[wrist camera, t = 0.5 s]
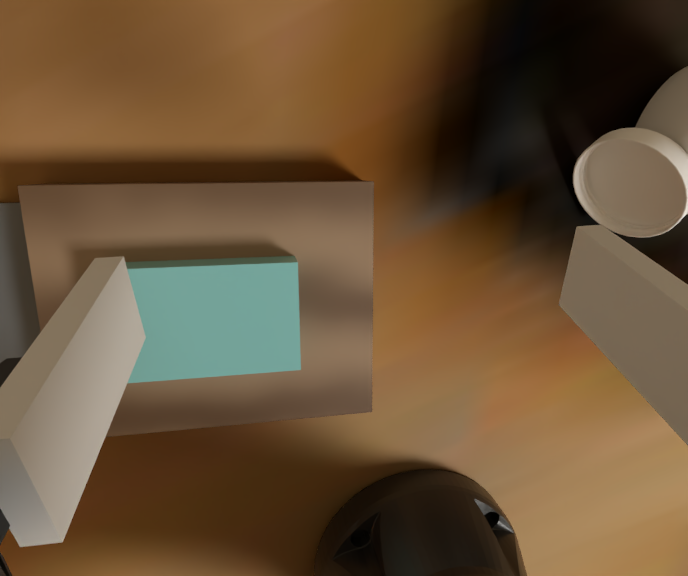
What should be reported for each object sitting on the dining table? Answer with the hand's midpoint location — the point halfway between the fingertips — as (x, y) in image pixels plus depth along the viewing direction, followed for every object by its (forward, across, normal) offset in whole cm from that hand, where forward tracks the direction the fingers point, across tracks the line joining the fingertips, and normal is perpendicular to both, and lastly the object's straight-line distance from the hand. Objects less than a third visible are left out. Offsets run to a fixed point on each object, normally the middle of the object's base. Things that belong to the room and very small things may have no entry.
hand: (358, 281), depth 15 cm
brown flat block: (+14, +7, +8) cm, 18 cm away
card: (+10, +7, +7) cm, 14 cm away
